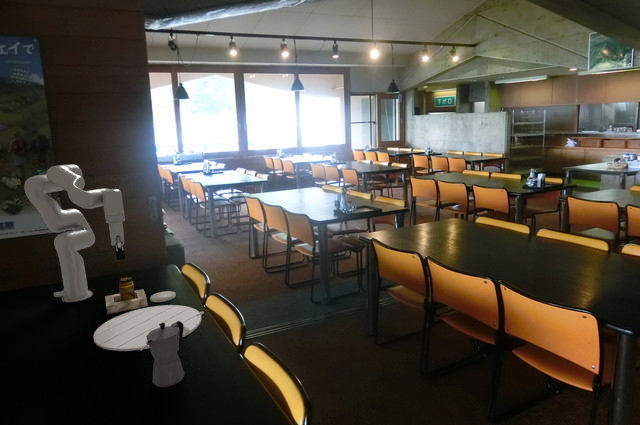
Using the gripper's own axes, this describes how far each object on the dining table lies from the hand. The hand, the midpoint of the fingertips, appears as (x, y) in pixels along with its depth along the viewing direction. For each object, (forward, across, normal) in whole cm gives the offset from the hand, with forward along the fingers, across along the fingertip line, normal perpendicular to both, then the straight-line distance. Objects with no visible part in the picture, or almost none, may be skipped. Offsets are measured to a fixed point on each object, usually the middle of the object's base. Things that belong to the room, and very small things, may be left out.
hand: (120, 257), depth 196 cm
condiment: (+22, 0, 0) cm, 22 cm away
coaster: (+22, 0, +15) cm, 27 cm away
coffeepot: (+22, +74, +8) cm, 78 cm away
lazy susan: (+23, +31, +6) cm, 39 cm away
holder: (+22, 0, 0) cm, 22 cm away
